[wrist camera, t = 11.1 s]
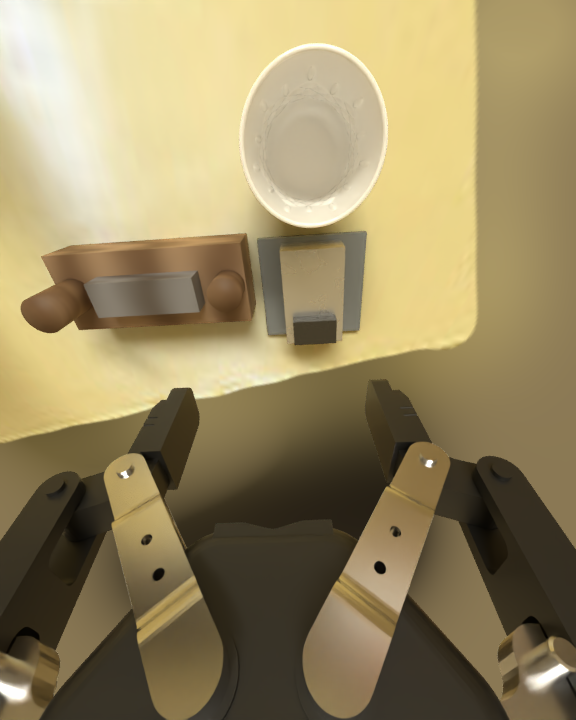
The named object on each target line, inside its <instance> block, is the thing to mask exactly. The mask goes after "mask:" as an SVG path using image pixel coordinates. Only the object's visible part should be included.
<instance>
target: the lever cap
mask: <svg viewBox="0 0 576 720" xmlns="http://www.w3.org/2000/svg"><path fill="white" fill-rule="evenodd" d="M280 262H281V274H282V286H283V298H284V309H285V321H286V333H287V344H291V343H294V344H295V345H306V344H324V343H336V341H342V331H343V302H344V273H345V246H344V244H343V242H342V241H341V239H338V240H324V241H311V242H297V243H283V244H281V246H280Z"/></svg>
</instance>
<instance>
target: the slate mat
mask: <svg viewBox="0 0 576 720" xmlns="http://www.w3.org/2000/svg"><path fill="white" fill-rule="evenodd" d="M366 235H367V232H366V231H358V232H344V233H329V234H315V235H300V236H285V237H271V238H258V239H257V243H258V252H259V260H260V269H261V277H262V286H263V294H264V303H265V311H266V320H267V328H268V335H279V334H287V333H286V321H285V309H284V298H283V286H282V274H281V262H280V246H281V244H283V243H297V242H311V241H324V240H338V239H341V241H342V242H343V244H344V246H345V273H344V302H343V331H355V330H359V328H360V314H361V301H362V288H363V275H364V261H365V248H366Z"/></svg>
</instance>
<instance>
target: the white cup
mask: <svg viewBox="0 0 576 720" xmlns="http://www.w3.org/2000/svg"><path fill="white" fill-rule="evenodd" d="M387 143H388V120H387V113H386V107H385V103H384V100H383V97H382V94H381V91H380V89H379V87H378V85H377V83H376V81H375V79H374V77H373V76H372V74H371V73H370V71H369V70H368V69H367V68H366V66H365V65H364V64H363V63H362V62H361V61H360V60H359V59H357V58H356V57H355V56H354V55H352V54H351V53H349V52H347V51H346V50H344V49H342V48H339V47H336V46H333V45H329V44H322V43H312V44H305V45H301V46H298V47H295V48H292V49H290V50H288V51H286V52H284V53H283V54H281V55H280V56H278V57H277V58H276V59H274V60H273V61H272V62H271V63H270V64H269V65H268V66H267V67H266V68H265V69H264V70H263V72H262V73H261V74H260V75H259V77H258V78H257V80H256V81H255V83H254V85H253V87H252V88H251V90H250V92H249V95H248V97H247V100H246V102H245V105H244V109H243V112H242V117H241V122H240V130H239V150H240V158H241V163H242V167H243V171H244V174H245V177H246V180H247V182H248V184H249V187H250V189H251V190H252V192H253V194H254V195H255V197H256V198H257V200H258V201H259V202H260V204H261V205H262V206H263V207H264V208H265V209H266V210H267V211H268V212H269V213H270V214H272V215H273V216H274V217H276V218H277V219H279V220H281V221H283V222H285V223H287V224H290V225H293V226H296V227H302V228H318V227H324V226H328V225H331V224H333V223H336V222H338V221H340V220H342V219H343V218H345V217H346V216H348V215H349V214H351V213H352V212H353V211H354V210H355V209H357V208H358V207H359V206H360V205H361V203H362V202H363V201H364V200H365V199H366V197H367V196H368V195H369V193H370V192H371V190H372V189H373V187H374V185H375V183H376V181H377V179H378V177H379V175H380V172H381V169H382V167H383V163H384V160H385V155H386V150H387Z"/></svg>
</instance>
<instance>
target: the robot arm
mask: <svg viewBox="0 0 576 720" xmlns="http://www.w3.org/2000/svg"><path fill="white" fill-rule="evenodd" d="M365 414H366V419H367V422H368V426H369V428H370V432H371V435H372V438H373V441H374V444H375V447H376V450H377V453H378V457H379V460H380V463H381V466H382V469H383V473H384V476H385V479H386V482H387V483H389V482H391V484H390V486H387V487H386V489H385V490H384V492H383V494H382V496H381V498H380V500H379V502H378V504H377V506H376V508H375V510H374V512H373V514H372V516H371V517H370V519H369V521H368V523H367V525H366V527H365V529H364V531H363V533H362V535H361V537H360V539H359V541H358V540H357V539H355V538H354V537H352V536H351V535H349V534H347V533H345V532H342V531H340V530H337V529H333V526H332V520H331V519H330V520H303V521H300V522H296V523H293V524H290V525H286V526H283V527H280V528H277V529H269V528H265V527H260V526H256V525H252V524H248V523H244V522H243V523H216V524H215V529H214V533H213V534H210V535H207V536H205V537H203V538H201V539H200V540H198V541H196V542H195V543H193V544H192V545H191V546H189V547H188V548H186V546H185V543H184V541H183V539H182V537H181V535H180V533H179V530H178V528H177V526H176V523H175V521H174V519H173V517H172V514H171V512H170V510H169V508H168V505H167V503H166V501H165V499H164V497H165V494H166V492H167V490H175V489H178V486H179V483H180V480H181V476H182V474H183V471H184V468H185V465H186V462H187V459H188V456H189V453H190V450H191V447H192V444H193V441H194V438H195V435H196V432H197V429H198V426H199V411H198V408H197V405H196V401H195V398H194V395H193V391H192V389H191V388H174V389H172V390H171V392H170V394H169V396H168V398H167V400H161V401H160V402H159V403H158V404H157V405H156V406H155V407H153V408H152V410H151V412H150V414H149V416H148V419H146V421H145V423H144V426H143V427H142V428H141V430H140V432H139V434H138V436H137V438H136V439H135V441H134V443H133V445H132V447H131V449H130V450H129V452H128V454H127V455H124V456H121V457H119V458H118V459H116V460H115V461H113V462H112V463H111V464H110V465H109V466H108V468H107V469H106V471H105V472H102V473H99V474H96V475H93V476H89V477H86V478H83V479H81V478H80V477H79V476H78V474H77V473H75V472H63V473H59V474H57V475H55V476H53V477H51V478H49V479H48V480H46V481H45V482H44V483H43V484H42V485H41V486H39V488H38V489H37V490H36V491H35V493H34V494H33V496H32V497H31V498H30V500H29V501H28V503H27V504H26V506H25V507H24V508H23V510H22V511H21V513H20V514H19V515H18V517H17V518H16V520H15V521H14V523H13V524H12V525H11V527H10V528H9V530H8V531H7V532H6V534H5V535H4V537H3V538H2V540H1V541H0V720H576V549H575V548H574V546H573V545H572V544H571V542H570V541H569V539H568V538H567V536H566V535H565V533H564V532H563V530H562V529H561V528H560V526H559V525H558V523H557V522H556V520H555V519H554V518H553V516H552V515H551V513H550V512H549V510H548V509H547V508H546V506H545V505H544V503H543V502H542V500H541V499H540V497H539V496H538V495H537V493H536V492H535V490H534V489H533V487H532V486H531V484H530V483H529V482H528V480H527V479H526V477H525V476H524V474H523V473H522V472H521V471H520V470H519V469H518V468H517V467H516V466H515V465H513V464H512V463H511V462H508V461H507V460H504V459H502V458H499V457H494V456H486V457H482V458H481V459H479V461H478V462H477V464H474V463H470V462H465V461H461V460H456V459H453V458H450V457H448V455H447V454H446V452H444V451H443V449H441V448H440V447H438V446H437V445H435V444H432V442H431V440H430V438H429V436H428V435H427V432H426V431H425V429H424V427H423V425H422V423H421V421H420V419H419V417H418V416H417V414H416V412H415V410H414V408H413V406H412V404H411V402H410V400H409V398H408V397H407V396H406V395H405V394H403V393H402V392H401V391H400V390H392V389H391V387H390V385H389V383H388V381H387V380H386V379H380V380H369V381H368V387H367V396H366V404H365ZM434 514H435V515H439V516H442V517H446V518H450V519H453V520H457V521H459V524H460V526H461V528H462V531H463V533H464V535H465V538H466V540H467V542H468V545H469V547H470V550H471V552H472V554H473V556H474V559H475V562H476V564H477V566H478V569H479V571H480V573H481V576H482V578H483V580H484V583H485V585H486V588H487V590H488V592H489V594H490V597H491V599H492V602H493V604H494V606H495V609H496V611H497V614H498V616H499V618H500V620H501V623H502V625H503V628H504V630H505V632H506V635H507V637H506V638H505V639H504V640H503V641H502V642H501V643H500V645H499V648H498V663H499V667H500V671H501V675H502V680H503V693H502V697H501V699H500V701H499V699H498V697H497V696H496V694H495V693H494V691H493V690H492V688H491V687H490V686H489V684H488V683H487V682H486V680H485V679H484V678H483V677H482V675H481V674H480V673H479V672H478V671H477V670H476V669H475V668H474V667H473V666H472V664H471V663H470V662H469V661H468V660H467V659H466V658H465V657H464V655H463V654H462V653H461V652H460V651H459V650H458V649H457V648H456V647H455V646H454V644H453V643H452V642H451V641H450V640H449V639H448V638H447V637H446V635H445V634H444V633H443V632H442V631H441V630H440V629H439V628H438V627H437V625H436V624H435V623H434V622H433V621H432V620H431V619H430V618H429V617H428V616H427V614H426V613H425V612H424V611H423V610H422V609H421V608H420V607H419V606H418V605H417V603H416V602H415V601H414V600H413V599H412V598H411V597H410V596H409V595H408V593H407V591H408V589H409V586H410V583H411V580H412V577H413V574H414V571H415V568H416V565H417V562H418V559H419V556H420V554H421V551H422V548H423V545H424V542H425V539H426V536H427V533H428V530H429V527H430V524H431V521H432V519H433V516H434ZM109 530H113V533H114V537H115V541H116V545H117V549H118V553H119V557H120V561H121V565H122V569H123V573H124V577H125V581H126V585H127V589H128V593H129V597H130V600H131V604H132V609H131V610H130V611H129V612H128V614H127V615H126V616H125V617H124V618H123V619H122V620H121V621H120V622H119V623H118V625H117V626H116V627H115V628H114V629H113V630H112V631H111V632H110V633H109V635H108V636H107V637H106V638H105V639H104V640H103V641H102V642H101V644H100V645H99V646H98V647H97V648H96V649H95V650H94V651H93V652H92V653H91V654H90V656H89V657H88V658H87V659H86V660H85V661H84V662H83V663H82V664H81V666H80V667H79V668H78V669H77V670H76V671H75V672H74V673H73V674H72V676H71V677H70V678H69V679H68V680H67V681H66V682H65V683H64V685H63V686H62V687H61V688H60V689H59V691H58V692H57V693H56V695H55V696H54V692H55V690H56V687H57V677H58V674H59V668H60V658H59V655H58V653H57V652H56V651H55V650H56V648H57V645H58V643H59V641H60V638H61V636H62V634H63V632H64V629H65V627H66V624H67V622H68V620H69V618H70V615H71V613H72V611H73V608H74V606H75V604H76V601H77V599H78V597H79V595H80V592H81V590H82V587H83V585H84V583H85V580H86V578H87V576H88V574H89V571H90V569H91V567H92V564H93V562H94V560H95V558H96V555H97V553H98V551H99V548H100V546H101V543H102V541H103V539H104V536H105V534H106V532H107V531H109Z"/></svg>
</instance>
